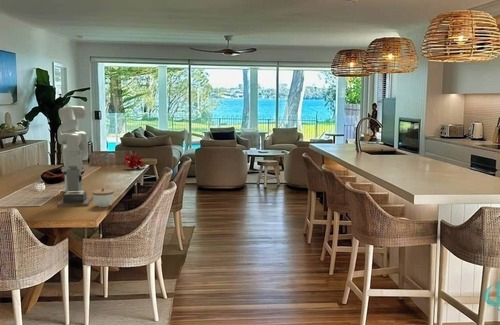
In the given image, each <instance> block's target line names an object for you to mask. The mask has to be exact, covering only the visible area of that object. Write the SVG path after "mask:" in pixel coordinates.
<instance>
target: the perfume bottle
mask: <svg viewBox="0 0 500 325" xmlns="http://www.w3.org/2000/svg"><path fill="white" fill-rule="evenodd" d="M68 167H69V168H70V169H71V170H67V189H68V191H80V190H81V189H82V190H83V185H82V184H83V182H82V181H81V182H79V170H77V166H68Z"/></svg>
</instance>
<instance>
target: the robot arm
mask: <svg viewBox="0 0 500 325" xmlns="http://www.w3.org/2000/svg"><path fill="white" fill-rule="evenodd" d="M58 116H59V119H60V121H61V124H60V125H59V127H58V129H57V142H58V144H59V145H66V147H65V148H63V149H62V152H61V153H62V158H63V159H62V160H63V168H62V169H61V170H60V171H61V172H62V173H63V174H64V185H65V186H64V188H63V190H62V192H63V193H66V192H67V191H68V189H67V170H71V169H70V168H69V167H68V166H77V170H79V182H81V181H82V180H83V177H82V176H83V174H84V173H85V172H87V168H86V167H85V166H84V165H83V164H84V163H83V161H86V160H88V159H89V153H90V152H89V140H88V139H89V137H88V134H87V132H85V131H77V127H78V124H79V122H78V120H85V119H86V118H87V110H86V108H85V106H83V105H82V106H81V105H75V106H74V105H70V106H65V107H64V106H63V107H61V108H59V109H58ZM80 191H83V188H82V189H81V190H80Z"/></svg>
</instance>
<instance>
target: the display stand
mask: <svg viewBox="0 0 500 325" xmlns="http://www.w3.org/2000/svg"><path fill="white" fill-rule="evenodd" d="M92 201H93V196H87V190H82V191H67V192H64V193H63V195H62V199H60V201H59V202H58V203H57V204H56V208H66V207H88V206H89V205H90V204H91V202H92ZM89 203H90V204H89Z"/></svg>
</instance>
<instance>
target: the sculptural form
mask: <svg viewBox="0 0 500 325" xmlns="http://www.w3.org/2000/svg"><path fill="white" fill-rule="evenodd" d="M129 154H130V150H128V152H127V154H126V155H125V157H124V158H123V160H124V161H123V163H122V165H124V169H125V168H126V167H128V168H130V169H132V170H135V169H140V168H143V167H147V166H146V164H145V162H144V160H142V159H143V157H144V156H141V154H140V155H139V156H138V155H137V153H136V152H134V151H132V152H131V154H130V155H129Z"/></svg>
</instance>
